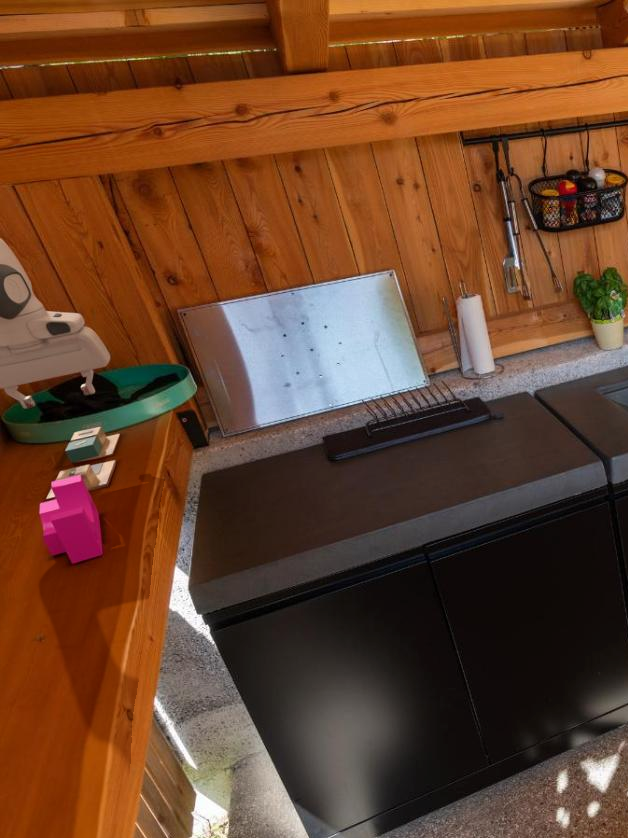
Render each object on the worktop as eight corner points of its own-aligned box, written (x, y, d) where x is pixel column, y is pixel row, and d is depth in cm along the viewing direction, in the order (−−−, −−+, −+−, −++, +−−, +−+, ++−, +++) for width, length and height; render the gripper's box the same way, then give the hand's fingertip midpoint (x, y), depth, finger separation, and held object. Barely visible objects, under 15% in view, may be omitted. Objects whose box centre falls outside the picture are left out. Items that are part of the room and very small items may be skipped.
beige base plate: (47, 501, 132) (38, 486, 131) (60, 476, 141) (51, 461, 139) (108, 486, 135) (99, 470, 134) (116, 462, 144) (109, 447, 143)
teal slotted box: (71, 462, 145) (64, 450, 143) (75, 453, 148) (68, 442, 147) (98, 455, 146) (92, 443, 145) (102, 447, 150) (96, 435, 149)
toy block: (52, 527, 122) (31, 486, 119) (99, 514, 126) (80, 474, 122) (51, 570, 112) (28, 526, 108) (102, 554, 115) (82, 512, 111)
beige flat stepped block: (57, 469, 144) (49, 454, 142) (68, 448, 152) (61, 434, 151) (113, 456, 147) (106, 441, 145) (121, 436, 156) (114, 422, 154)
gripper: (-58, 347, 129) (-13, 421, 135) (85, 320, 136) (120, 391, 143) (-46, 338, 134) (-3, 409, 140) (91, 312, 141) (125, 381, 148)
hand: (60, 400), depth 142 cm, fingers open, 8 cm apart
